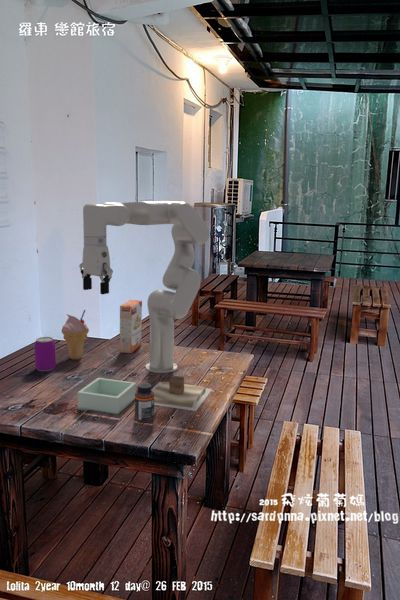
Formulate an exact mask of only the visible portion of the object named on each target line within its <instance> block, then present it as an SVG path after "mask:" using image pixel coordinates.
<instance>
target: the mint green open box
mask: <svg viewBox="0 0 400 600" xmlns="http://www.w3.org/2000/svg"><path fill="white" fill-rule="evenodd" d="M136 391H137V382H133V381H125V380H117V379H112V378H111V379H110V378H103V377H97V378H96V379H94V380H93V381H91V382H90V383H88V384H87V385H86V386H85V387H83V388H82V389H80V390H79V391H77V410H78V411H83V412H84V411H85V412H86V410H88V411H93V412H98V413H99V412H101V413H107V414H111V415H112V414H113V415H119V414H120V413H121V412H123V411H124V410H125V409H126V408H127V407H128V406H129V405H130V404H132V403H133V402H135V393H136Z"/></svg>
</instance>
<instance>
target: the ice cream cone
mask: <svg viewBox="0 0 400 600" xmlns="http://www.w3.org/2000/svg"><path fill="white" fill-rule="evenodd" d="M85 313H86V309H84V310H83V311H82V315H81V317H80V319H79V318H78V317H76V316H75V315H74V316H73V315H71V314H68V313H67V314H66V316H67V317H68V318H67V319H66V321H65V323H64V325H63V326H62V328H61V333H62V335H63V339H64V341H65V342H66V344H67V350H68V351H67V352H68V356H69V358H70V359H71V360H81V359H82V357H83V353H84V344H85V340H86V339H87V338H88V333H89V332H90V329H89V327H88V326H87V324H86V323H85V320H84V319H83V318H84V317H85Z"/></svg>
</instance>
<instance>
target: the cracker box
mask: <svg viewBox="0 0 400 600" xmlns="http://www.w3.org/2000/svg"><path fill="white" fill-rule="evenodd" d="M142 312H143V300H138V299H130V300H128V301H126V302H124V303H123V304H121V305H119V353H123V354H124V353H125V354H132V353H134V352H135V351H136V350H137V349H138V348H139V347H140V346H141V345H142V324H143V323H142V318H143V313H142Z"/></svg>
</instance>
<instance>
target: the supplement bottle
mask: <svg viewBox="0 0 400 600" xmlns="http://www.w3.org/2000/svg"><path fill="white" fill-rule="evenodd" d="M134 419H135V420H136V422H137V423H140V424H148V423H149V422H153V420H154V419H155V405H154V392H153V391H152V384H151V383H147V382H142V383H139V384H138V385H137V390H136V393H135V400H134Z"/></svg>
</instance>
